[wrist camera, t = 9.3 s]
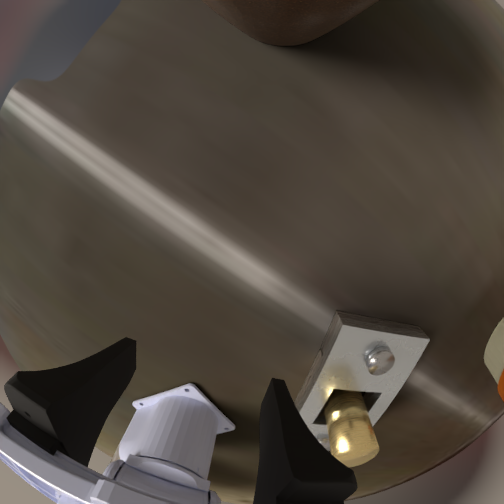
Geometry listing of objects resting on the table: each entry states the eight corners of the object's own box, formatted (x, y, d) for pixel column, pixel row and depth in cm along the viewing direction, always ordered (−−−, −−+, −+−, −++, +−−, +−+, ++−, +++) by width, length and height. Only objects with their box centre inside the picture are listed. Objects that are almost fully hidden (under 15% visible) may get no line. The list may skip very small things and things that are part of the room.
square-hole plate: (347, 438, 26) (351, 458, 23) (277, 433, 26) (277, 455, 23) (418, 326, 22) (434, 344, 18) (336, 310, 22) (345, 331, 18)
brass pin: (330, 412, 25) (341, 471, 17) (315, 392, 24) (325, 456, 16) (364, 397, 24) (383, 454, 16) (352, 375, 23) (372, 437, 16)
